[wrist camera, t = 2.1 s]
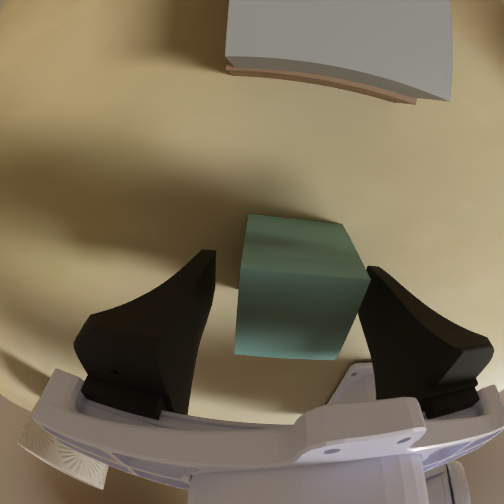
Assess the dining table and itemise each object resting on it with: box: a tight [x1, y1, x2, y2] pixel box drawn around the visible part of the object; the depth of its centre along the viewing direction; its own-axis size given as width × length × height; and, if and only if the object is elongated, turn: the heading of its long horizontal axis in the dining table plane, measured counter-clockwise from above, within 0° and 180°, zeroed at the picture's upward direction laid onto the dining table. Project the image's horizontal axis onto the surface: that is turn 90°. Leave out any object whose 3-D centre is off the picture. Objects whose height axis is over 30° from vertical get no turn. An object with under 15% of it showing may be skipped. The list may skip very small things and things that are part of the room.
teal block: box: [234, 214, 371, 360], centre depth 12 cm, size 4×4×4 cm
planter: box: [17, 400, 109, 489], centre depth 23 cm, size 12×12×11 cm
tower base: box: [226, 59, 417, 105], centre depth 7 cm, size 7×7×2 cm
